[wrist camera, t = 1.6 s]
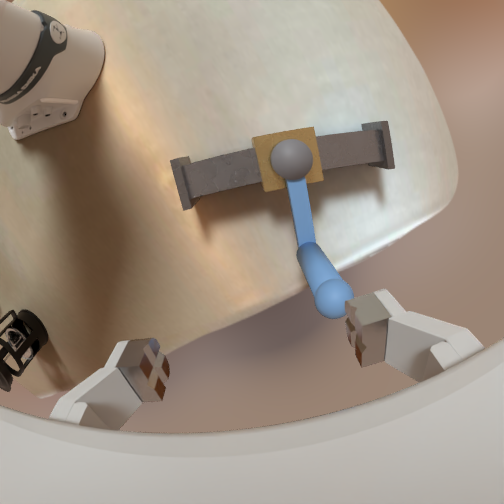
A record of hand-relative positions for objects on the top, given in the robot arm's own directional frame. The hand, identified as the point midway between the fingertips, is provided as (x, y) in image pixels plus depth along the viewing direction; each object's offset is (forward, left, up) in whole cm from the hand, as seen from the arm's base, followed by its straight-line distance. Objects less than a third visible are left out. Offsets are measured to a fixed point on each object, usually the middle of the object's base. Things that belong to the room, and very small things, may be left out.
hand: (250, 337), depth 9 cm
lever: (+6, -1, -23) cm, 24 cm away
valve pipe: (+6, +4, -29) cm, 30 cm away
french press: (-52, -14, -30) cm, 62 cm away
